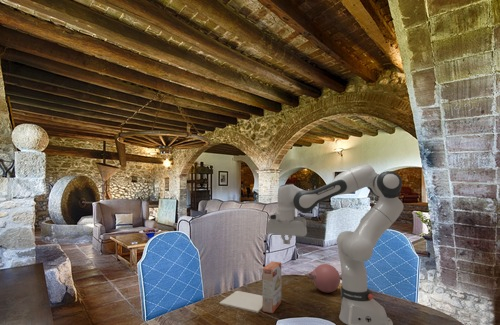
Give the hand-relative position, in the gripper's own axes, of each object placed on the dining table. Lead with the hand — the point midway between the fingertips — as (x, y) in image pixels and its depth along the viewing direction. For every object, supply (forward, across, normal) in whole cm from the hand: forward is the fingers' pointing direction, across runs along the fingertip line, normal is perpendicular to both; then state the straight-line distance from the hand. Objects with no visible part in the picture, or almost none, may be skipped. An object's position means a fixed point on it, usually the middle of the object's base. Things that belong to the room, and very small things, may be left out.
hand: (286, 243), depth 140 cm
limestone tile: (+32, +23, 0) cm, 40 cm away
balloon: (+32, -10, -32) cm, 47 cm away
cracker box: (+32, +8, 0) cm, 33 cm away
